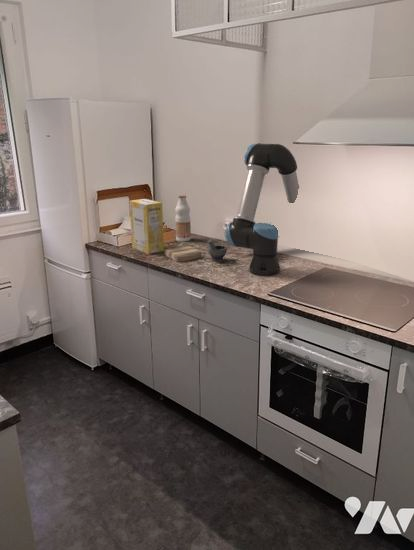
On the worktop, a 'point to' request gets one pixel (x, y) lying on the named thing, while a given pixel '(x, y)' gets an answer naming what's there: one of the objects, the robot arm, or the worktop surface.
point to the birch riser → (182, 253)
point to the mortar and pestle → (216, 251)
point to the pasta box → (146, 225)
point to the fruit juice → (182, 220)
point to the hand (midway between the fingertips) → (232, 238)
